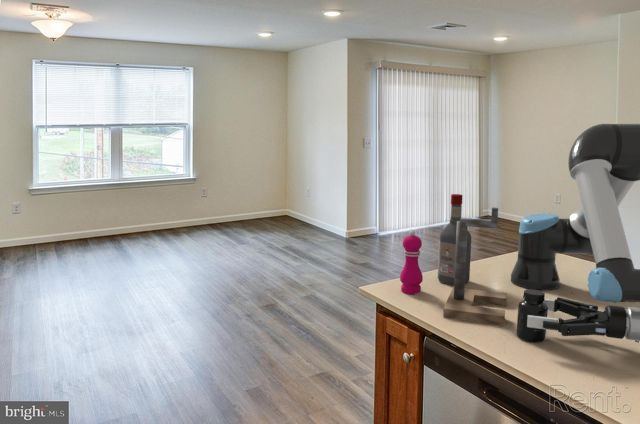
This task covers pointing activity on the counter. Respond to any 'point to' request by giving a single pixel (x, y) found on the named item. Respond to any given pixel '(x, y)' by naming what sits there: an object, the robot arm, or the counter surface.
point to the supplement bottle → (534, 308)
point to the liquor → (452, 245)
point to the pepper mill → (411, 265)
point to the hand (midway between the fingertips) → (526, 311)
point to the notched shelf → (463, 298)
